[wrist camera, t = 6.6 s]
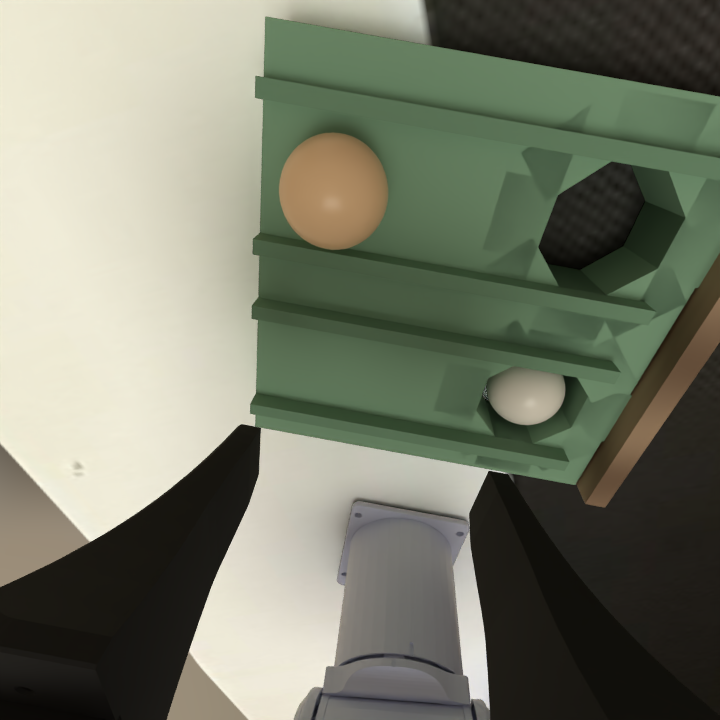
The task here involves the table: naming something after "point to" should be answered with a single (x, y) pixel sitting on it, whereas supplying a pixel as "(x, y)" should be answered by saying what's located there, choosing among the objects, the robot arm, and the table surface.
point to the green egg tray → (471, 248)
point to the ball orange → (333, 191)
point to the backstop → (656, 391)
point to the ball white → (526, 394)
